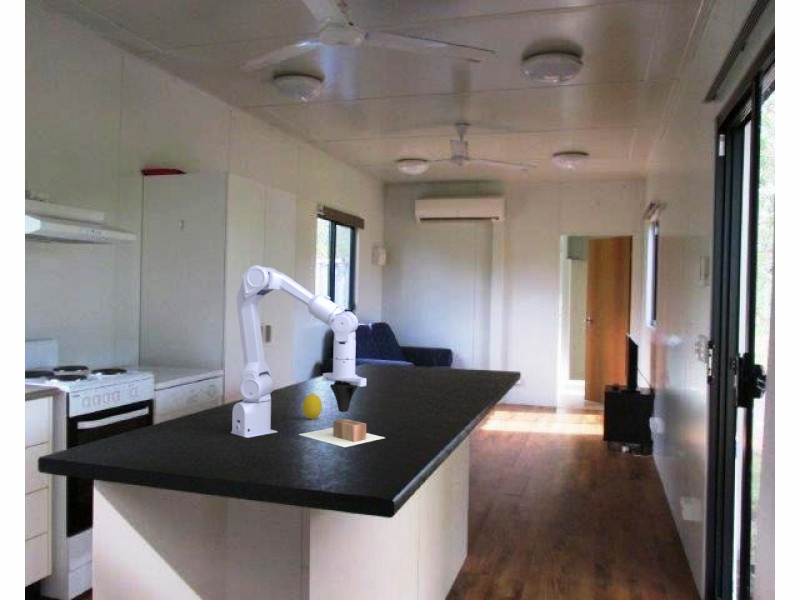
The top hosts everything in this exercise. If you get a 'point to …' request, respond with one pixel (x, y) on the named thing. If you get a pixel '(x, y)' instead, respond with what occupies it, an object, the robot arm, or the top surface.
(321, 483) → the top surface
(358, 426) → the walnut block
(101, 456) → the top surface
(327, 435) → the mat
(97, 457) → the top surface
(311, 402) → the lemon
